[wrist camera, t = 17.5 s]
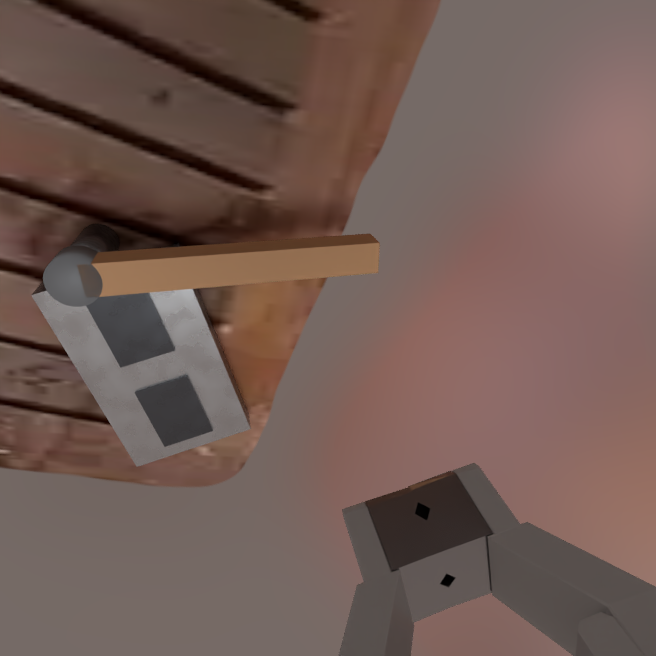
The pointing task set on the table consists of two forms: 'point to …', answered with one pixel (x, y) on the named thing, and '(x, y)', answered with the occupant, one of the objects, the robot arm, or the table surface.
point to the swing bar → (204, 266)
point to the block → (149, 363)
